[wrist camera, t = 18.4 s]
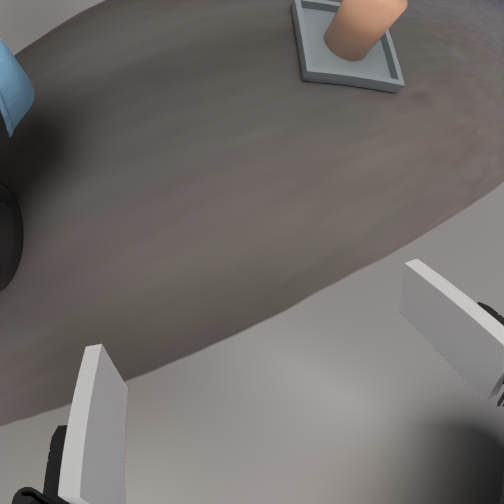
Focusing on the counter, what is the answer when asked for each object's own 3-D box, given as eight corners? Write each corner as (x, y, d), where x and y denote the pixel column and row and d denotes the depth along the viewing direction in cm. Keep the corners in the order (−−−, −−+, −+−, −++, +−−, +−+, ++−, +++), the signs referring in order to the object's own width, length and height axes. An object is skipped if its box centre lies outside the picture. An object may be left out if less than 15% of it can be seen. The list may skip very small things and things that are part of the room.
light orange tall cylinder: (328, 58, 34) (363, 3, 23) (320, 23, 34) (349, -32, 22) (371, 64, 35) (414, 17, 23) (361, 30, 35) (397, -19, 23)
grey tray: (301, 80, 35) (307, 71, 32) (290, 6, 35) (294, -4, 32) (395, 93, 36) (404, 85, 34) (375, 21, 36) (382, 12, 34)
